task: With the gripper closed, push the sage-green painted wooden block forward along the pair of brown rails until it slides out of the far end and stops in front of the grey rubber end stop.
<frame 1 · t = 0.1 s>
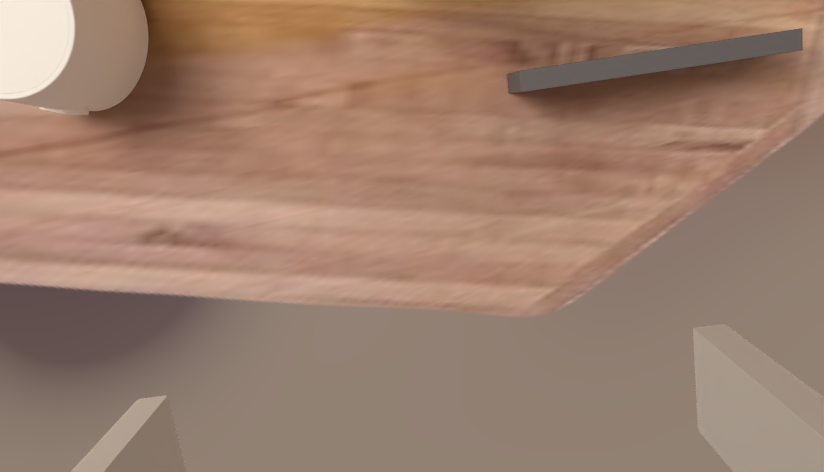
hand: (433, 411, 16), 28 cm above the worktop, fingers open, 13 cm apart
mug: (94, 17, 41), on the worktop
end stop: (630, 65, 41), on the worktop
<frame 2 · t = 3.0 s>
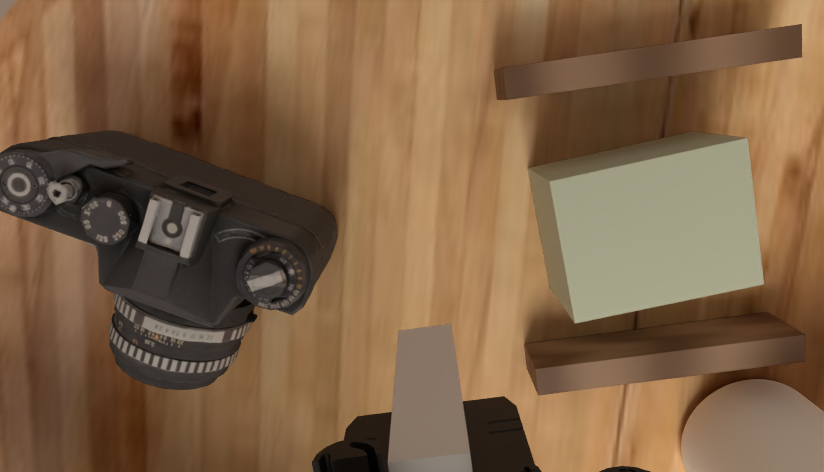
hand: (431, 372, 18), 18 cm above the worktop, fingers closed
camera: (202, 246, 36), on the worktop
pair of brown rails: (637, 209, 35), on the worktop
block: (617, 211, 35), on the worktop
beverage can: (742, 434, 38), on the worktop
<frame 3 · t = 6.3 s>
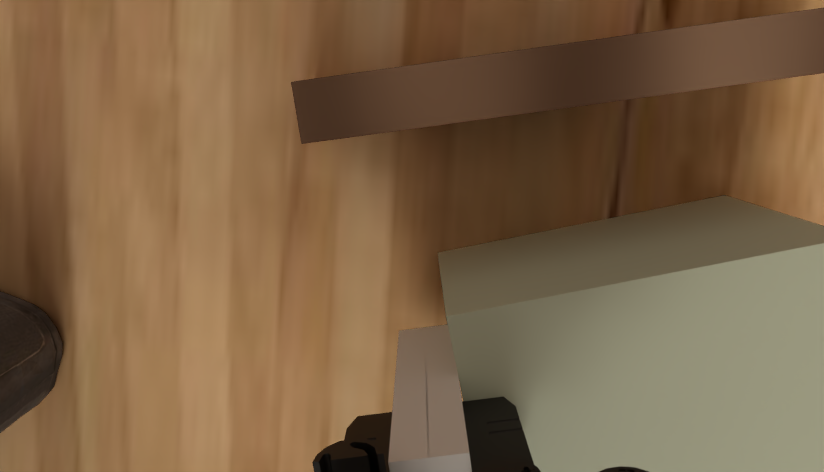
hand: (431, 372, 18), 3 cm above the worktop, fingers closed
pair of brown rails: (572, 324, 20), on the worktop
block: (595, 327, 20), on the worktop, touching gripper
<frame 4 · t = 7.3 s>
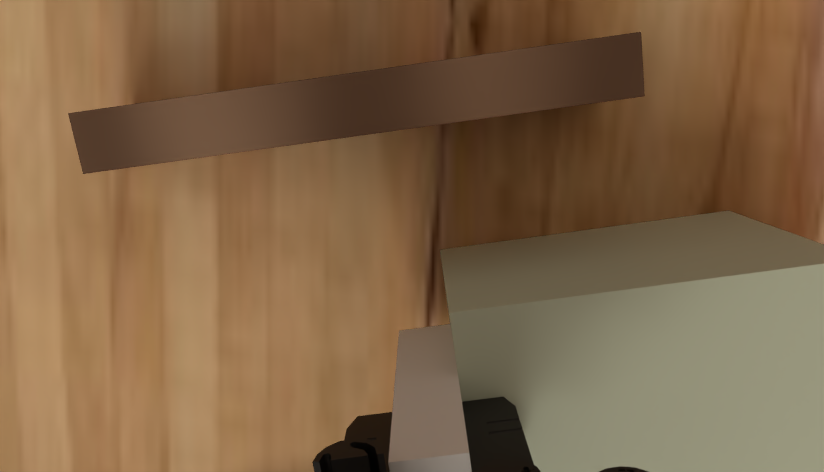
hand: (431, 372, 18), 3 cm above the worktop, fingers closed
pair of brown rails: (402, 345, 20), on the worktop
block: (591, 334, 20), on the worktop, touching gripper
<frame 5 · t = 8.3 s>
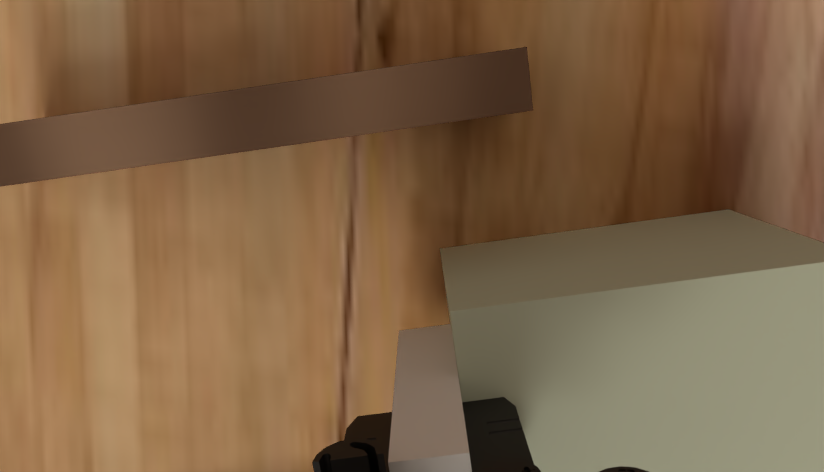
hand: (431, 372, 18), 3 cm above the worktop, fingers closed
pair of brown rails: (320, 356, 20), on the worktop
block: (592, 334, 20), on the worktop, touching gripper
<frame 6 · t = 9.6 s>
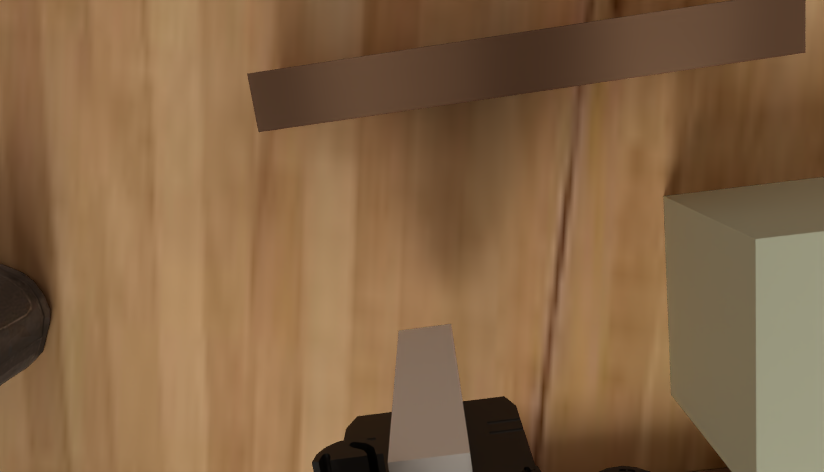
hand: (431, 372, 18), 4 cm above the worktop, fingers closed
pair of brown rails: (530, 304, 21), on the worktop
block: (803, 282, 21), on the worktop
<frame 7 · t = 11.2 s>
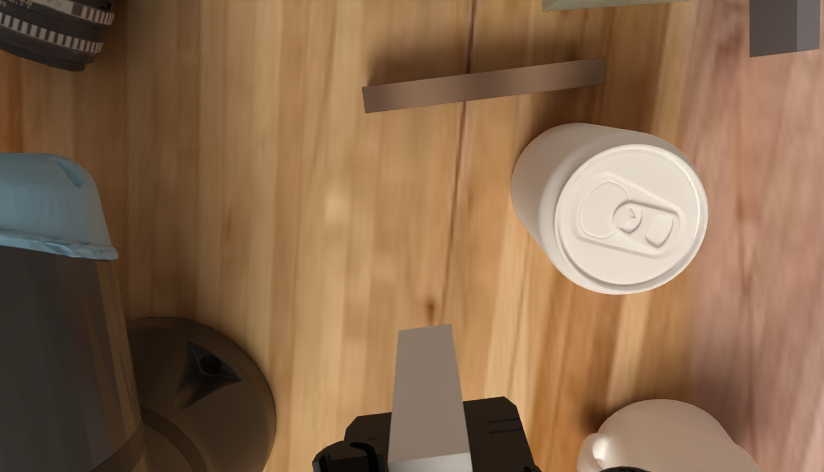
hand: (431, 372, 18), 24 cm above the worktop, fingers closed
mug: (645, 442, 45), on the worktop
beverage can: (570, 184, 41), on the worktop
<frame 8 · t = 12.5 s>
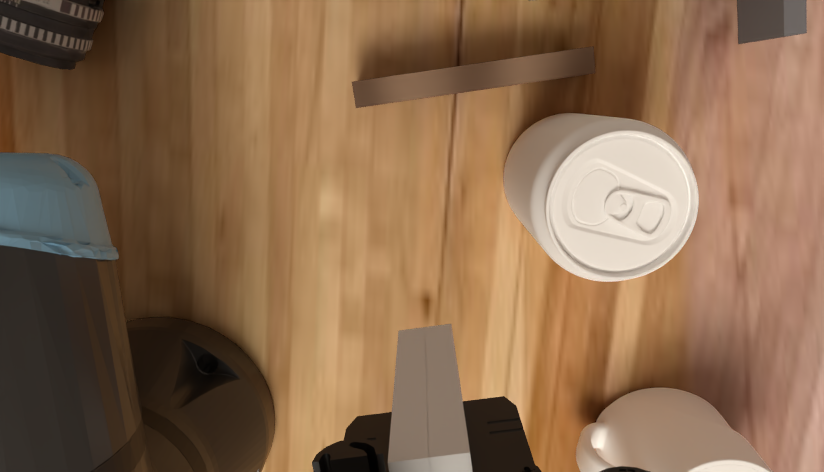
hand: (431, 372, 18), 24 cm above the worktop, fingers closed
mug: (643, 431, 45), on the worktop
beverage can: (563, 175, 41), on the worktop
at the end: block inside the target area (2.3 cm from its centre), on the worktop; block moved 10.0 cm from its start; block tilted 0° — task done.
